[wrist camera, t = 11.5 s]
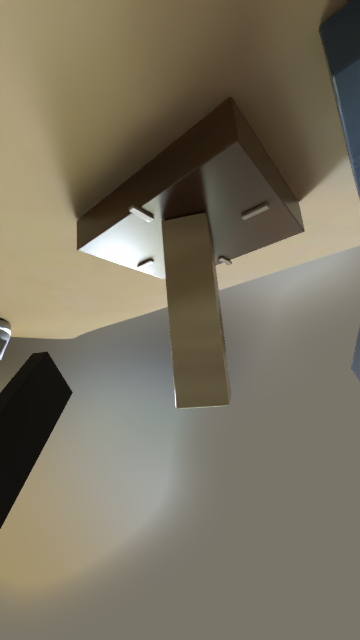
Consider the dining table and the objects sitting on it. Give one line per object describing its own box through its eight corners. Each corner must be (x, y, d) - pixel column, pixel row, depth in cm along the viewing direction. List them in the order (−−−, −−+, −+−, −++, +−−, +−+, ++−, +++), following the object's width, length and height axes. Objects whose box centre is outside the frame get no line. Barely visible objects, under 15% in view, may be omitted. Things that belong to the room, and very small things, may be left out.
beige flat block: (160, 220, 14) (176, 414, 12) (206, 211, 13) (230, 411, 11) (181, 262, 19) (194, 401, 17) (214, 256, 19) (231, 398, 17)
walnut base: (173, 262, 24) (175, 284, 23) (71, 218, 16) (71, 250, 16) (300, 205, 17) (306, 235, 17) (226, 88, 10) (233, 137, 9)
